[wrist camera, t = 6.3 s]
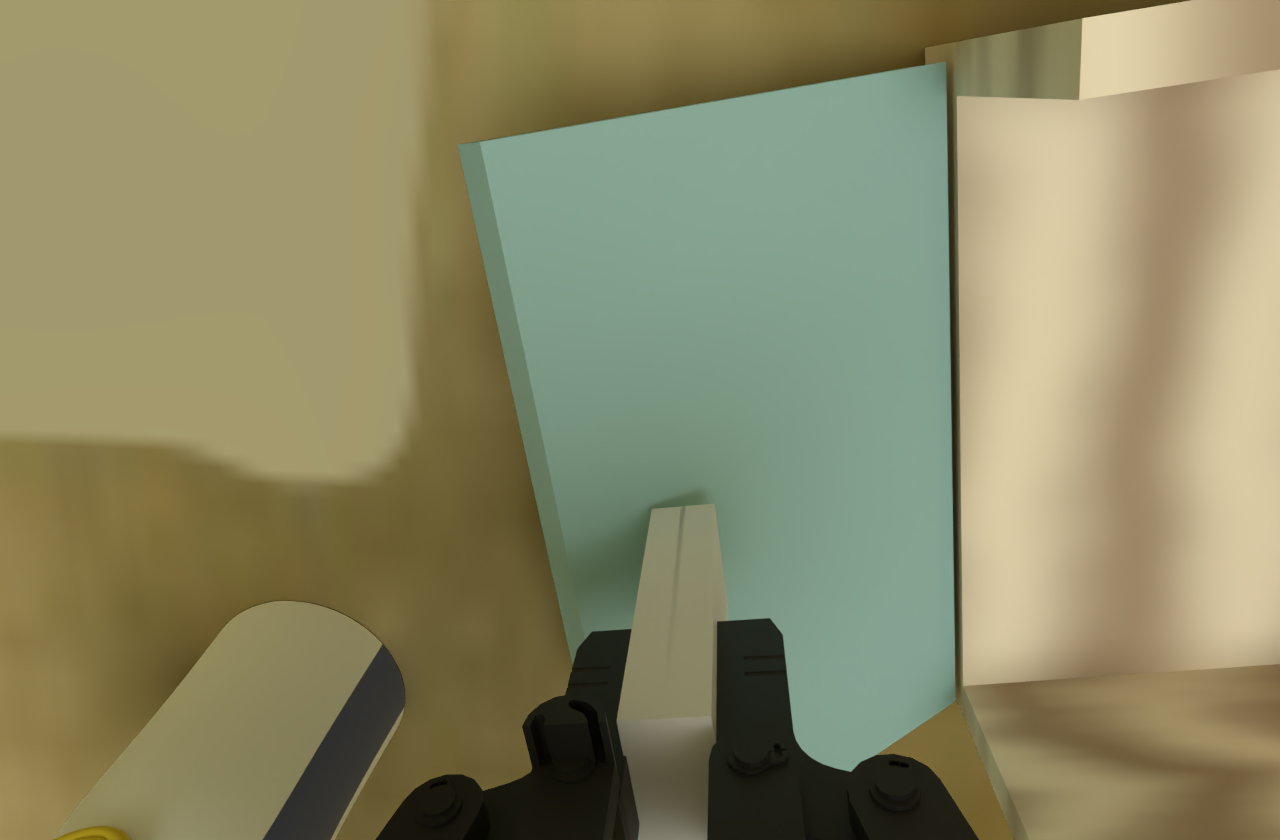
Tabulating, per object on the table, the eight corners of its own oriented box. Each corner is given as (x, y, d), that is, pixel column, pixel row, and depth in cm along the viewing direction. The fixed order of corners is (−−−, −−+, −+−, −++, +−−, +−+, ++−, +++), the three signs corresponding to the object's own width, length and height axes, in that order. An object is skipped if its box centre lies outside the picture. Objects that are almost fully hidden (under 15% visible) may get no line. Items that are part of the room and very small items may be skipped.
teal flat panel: (907, 670, 28) (605, 859, 23) (882, 71, 21) (443, 146, 16) (955, 701, 27) (642, 911, 21) (946, 61, 20) (479, 141, 14)
